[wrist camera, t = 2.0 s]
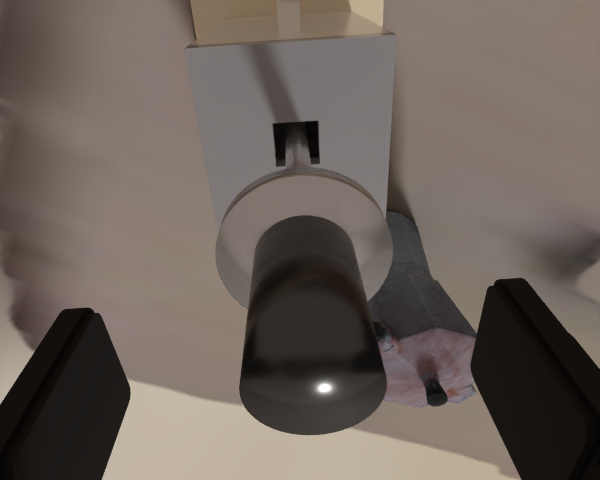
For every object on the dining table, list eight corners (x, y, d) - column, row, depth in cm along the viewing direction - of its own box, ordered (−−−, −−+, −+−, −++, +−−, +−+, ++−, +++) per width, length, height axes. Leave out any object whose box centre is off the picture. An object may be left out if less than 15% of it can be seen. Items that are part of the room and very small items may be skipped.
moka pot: (393, 302, 52) (446, 462, 35) (293, 236, 46) (298, 387, 29) (453, 250, 48) (546, 401, 31) (352, 171, 42) (398, 302, 25)
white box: (382, -60, 32) (464, -90, 18) (373, 172, 42) (420, 277, 28) (186, -47, 32) (102, -66, 18) (223, 181, 43) (190, 292, 28)
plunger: (350, 42, 27) (529, 228, 7) (349, 156, 31) (462, 476, 11) (230, 50, 27) (81, 257, 7) (245, 163, 31) (175, 493, 11)
